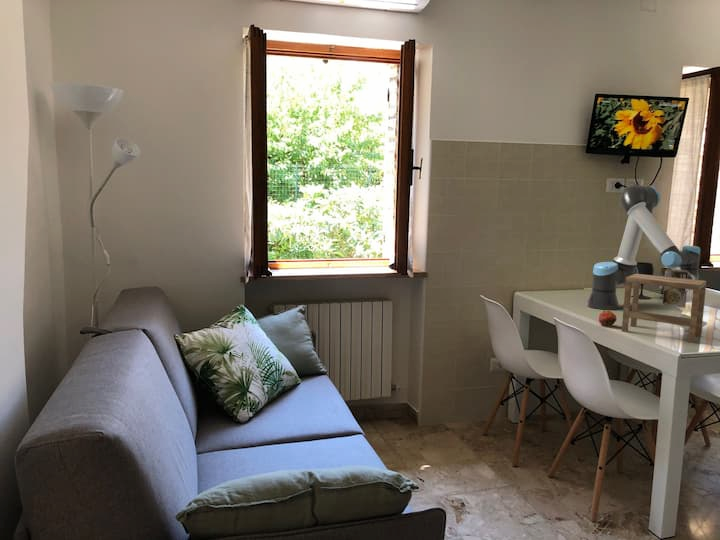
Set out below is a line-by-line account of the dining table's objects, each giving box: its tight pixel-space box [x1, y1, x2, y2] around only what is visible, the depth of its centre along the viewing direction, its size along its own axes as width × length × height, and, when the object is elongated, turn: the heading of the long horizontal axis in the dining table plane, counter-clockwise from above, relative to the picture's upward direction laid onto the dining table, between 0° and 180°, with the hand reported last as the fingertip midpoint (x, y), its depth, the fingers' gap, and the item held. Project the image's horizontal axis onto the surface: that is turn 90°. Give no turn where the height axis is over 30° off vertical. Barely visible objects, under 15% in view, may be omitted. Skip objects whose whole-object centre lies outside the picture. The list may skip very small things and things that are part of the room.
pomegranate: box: [598, 310, 617, 328], centre depth 262 cm, size 7×7×10 cm
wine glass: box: [631, 261, 654, 300], centre depth 330 cm, size 10×10×20 cm
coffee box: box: [662, 268, 689, 309], centre depth 257 cm, size 9×6×16 cm
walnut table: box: [621, 274, 708, 344], centre depth 248 cm, size 15×28×24 cm, turn 49°
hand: (673, 287), depth 253 cm, fingers closed on coffee box, 10 cm apart
